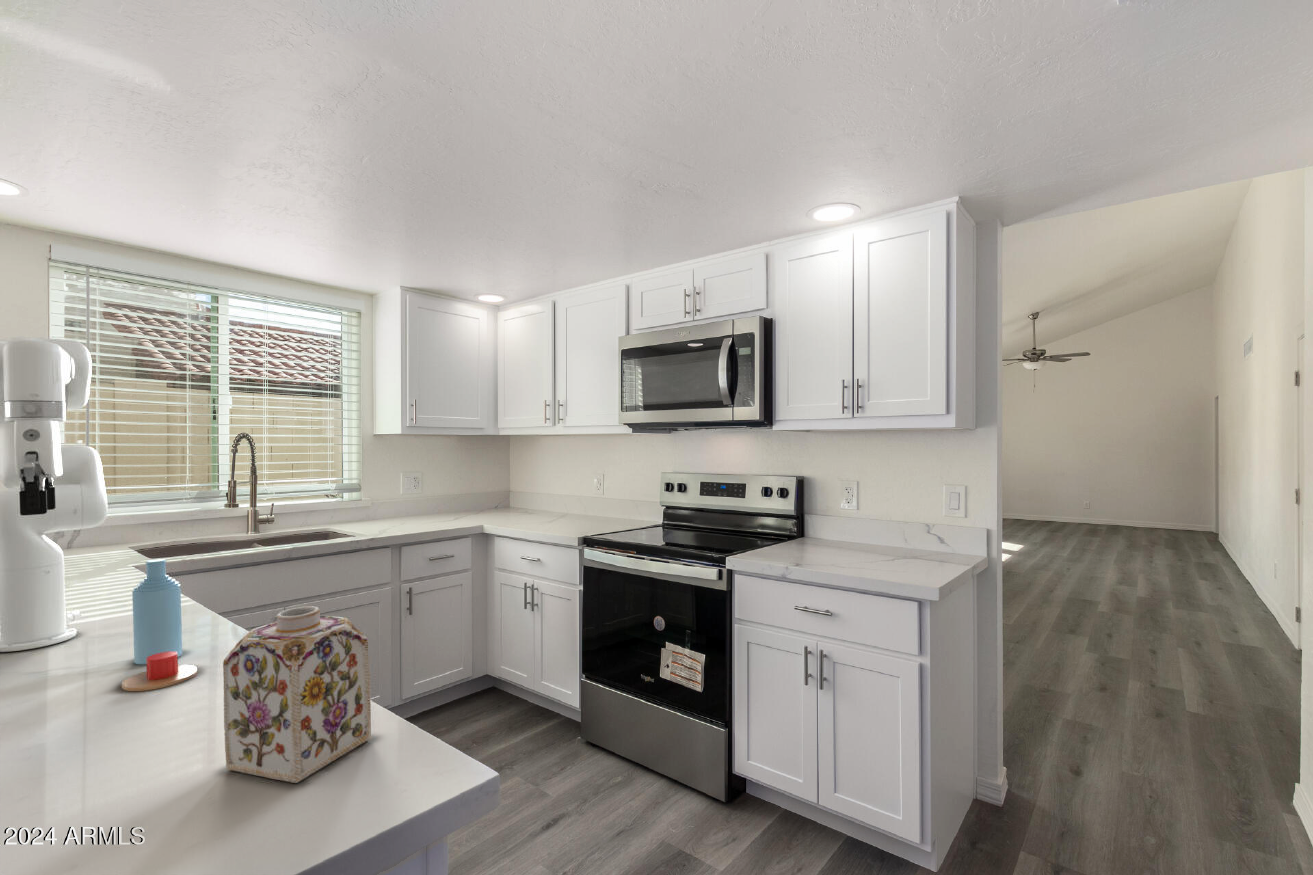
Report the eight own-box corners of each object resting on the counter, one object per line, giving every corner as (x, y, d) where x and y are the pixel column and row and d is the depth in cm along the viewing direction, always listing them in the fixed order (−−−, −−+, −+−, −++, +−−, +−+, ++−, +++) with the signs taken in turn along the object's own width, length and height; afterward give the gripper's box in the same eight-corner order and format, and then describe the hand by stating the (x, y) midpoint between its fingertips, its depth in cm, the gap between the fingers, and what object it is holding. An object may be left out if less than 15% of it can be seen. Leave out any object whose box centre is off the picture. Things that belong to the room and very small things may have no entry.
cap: (169, 678, 105) (168, 658, 105) (141, 680, 105) (140, 660, 105) (182, 669, 109) (182, 650, 109) (156, 671, 109) (155, 652, 109)
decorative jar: (374, 739, 83) (370, 601, 83) (297, 786, 72) (293, 627, 72) (304, 727, 87) (300, 596, 87) (221, 770, 76) (217, 620, 76)
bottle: (149, 653, 121) (146, 558, 120) (190, 649, 122) (187, 556, 122) (125, 666, 114) (122, 565, 114) (168, 662, 115) (165, 563, 115)
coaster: (147, 670, 111) (147, 667, 111) (209, 666, 112) (209, 662, 112) (106, 693, 101) (105, 689, 101) (174, 688, 102) (174, 684, 102)
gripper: (58, 410, 105) (61, 514, 105) (71, 415, 119) (74, 506, 119) (-7, 410, 101) (-4, 518, 101) (14, 415, 114) (17, 510, 114)
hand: (38, 512), depth 110 cm, fingers open, 9 cm apart
